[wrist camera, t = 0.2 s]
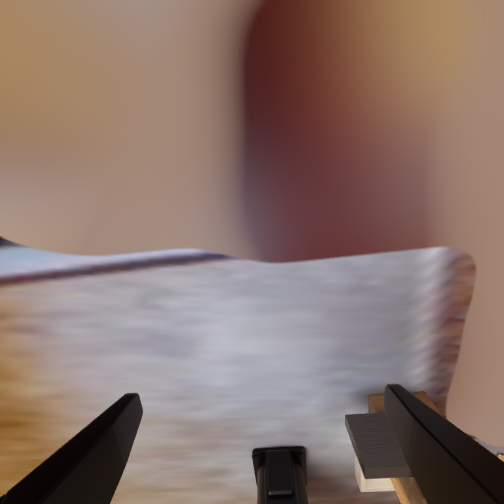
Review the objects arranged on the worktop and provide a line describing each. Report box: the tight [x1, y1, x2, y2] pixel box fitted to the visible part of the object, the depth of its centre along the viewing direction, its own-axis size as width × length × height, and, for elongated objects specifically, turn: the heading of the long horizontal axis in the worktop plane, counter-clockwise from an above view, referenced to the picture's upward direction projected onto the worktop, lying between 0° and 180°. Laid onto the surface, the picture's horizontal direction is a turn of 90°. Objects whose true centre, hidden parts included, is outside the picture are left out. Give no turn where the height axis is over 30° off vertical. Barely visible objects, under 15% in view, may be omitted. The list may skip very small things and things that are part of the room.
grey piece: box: [345, 410, 435, 479], centre depth 21 cm, size 9×8×4 cm
